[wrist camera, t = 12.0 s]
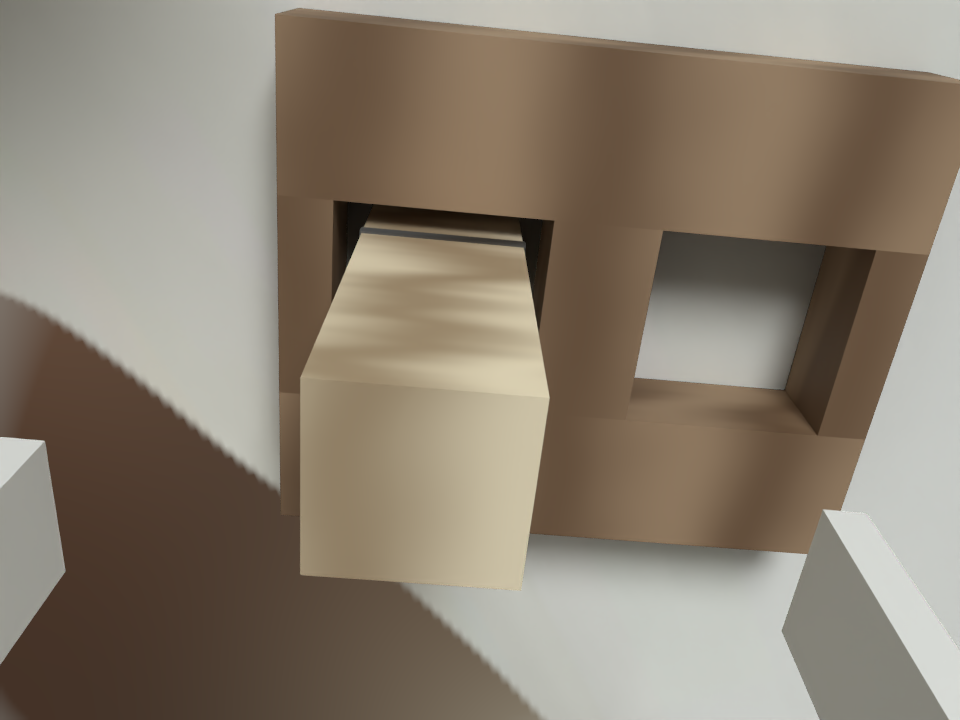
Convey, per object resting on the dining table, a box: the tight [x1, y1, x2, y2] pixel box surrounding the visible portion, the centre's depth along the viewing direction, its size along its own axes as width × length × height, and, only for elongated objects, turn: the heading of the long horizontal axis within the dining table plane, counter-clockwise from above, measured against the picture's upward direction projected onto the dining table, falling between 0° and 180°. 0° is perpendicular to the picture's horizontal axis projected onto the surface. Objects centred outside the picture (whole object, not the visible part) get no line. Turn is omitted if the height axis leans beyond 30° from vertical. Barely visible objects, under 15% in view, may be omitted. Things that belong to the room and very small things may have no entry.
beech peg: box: [300, 204, 550, 591], centre depth 21 cm, size 4×4×12 cm
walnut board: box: [275, 8, 960, 554], centre depth 25 cm, size 18×15×3 cm
